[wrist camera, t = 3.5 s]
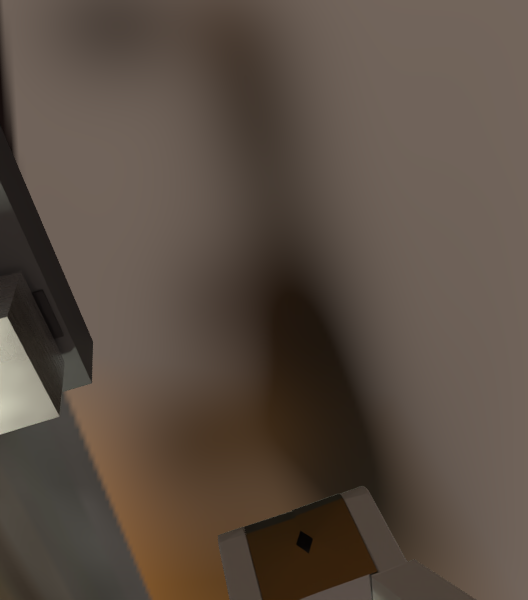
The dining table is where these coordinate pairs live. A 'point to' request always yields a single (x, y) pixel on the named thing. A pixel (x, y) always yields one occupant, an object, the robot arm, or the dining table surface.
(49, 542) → the dining table surface
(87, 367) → the control panel
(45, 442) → the dining table surface
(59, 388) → the slide paddle
